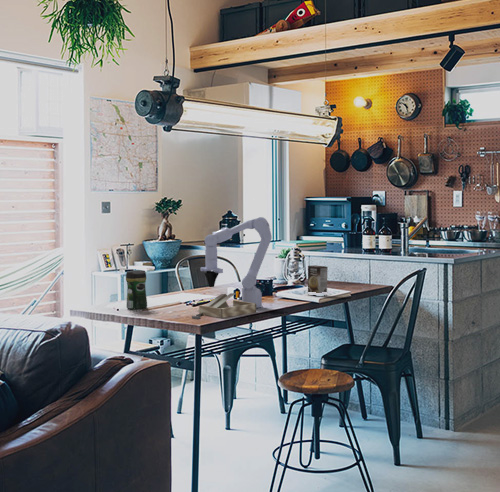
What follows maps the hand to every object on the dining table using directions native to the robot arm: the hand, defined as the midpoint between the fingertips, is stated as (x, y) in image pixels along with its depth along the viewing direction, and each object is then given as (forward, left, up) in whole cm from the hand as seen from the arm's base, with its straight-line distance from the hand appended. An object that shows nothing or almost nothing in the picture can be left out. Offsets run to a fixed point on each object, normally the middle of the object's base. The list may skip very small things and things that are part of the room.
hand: (211, 286), depth 335 cm
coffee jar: (+28, -23, -10) cm, 38 cm away
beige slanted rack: (+8, +13, -10) cm, 18 cm away
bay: (+6, +19, -10) cm, 22 cm away
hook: (+22, +17, -10) cm, 30 cm away
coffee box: (-66, +11, -10) cm, 68 cm away
